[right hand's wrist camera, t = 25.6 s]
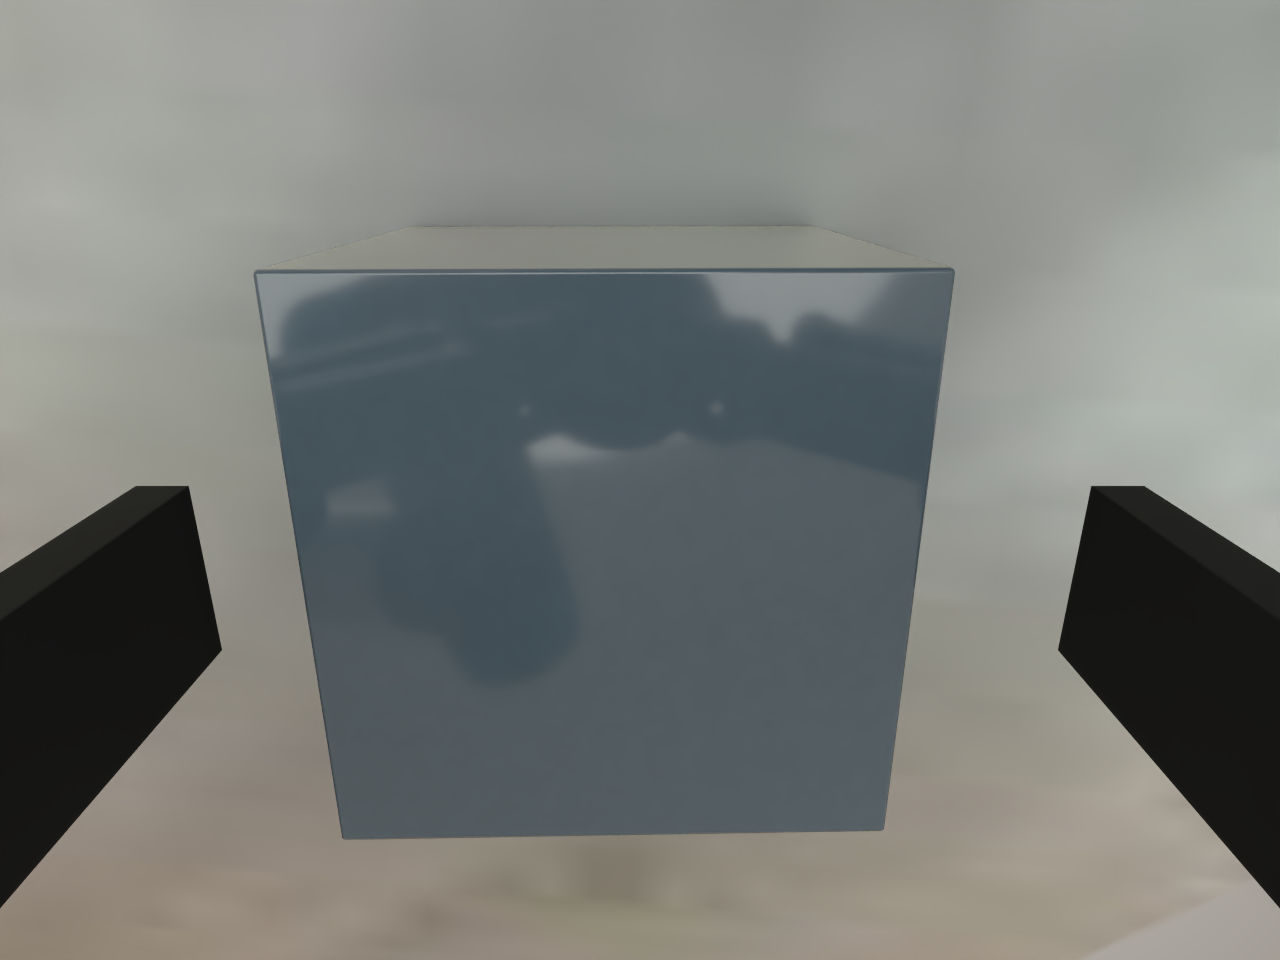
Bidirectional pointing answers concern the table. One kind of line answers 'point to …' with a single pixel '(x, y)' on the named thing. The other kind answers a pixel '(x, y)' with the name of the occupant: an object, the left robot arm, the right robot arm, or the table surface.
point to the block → (607, 521)
